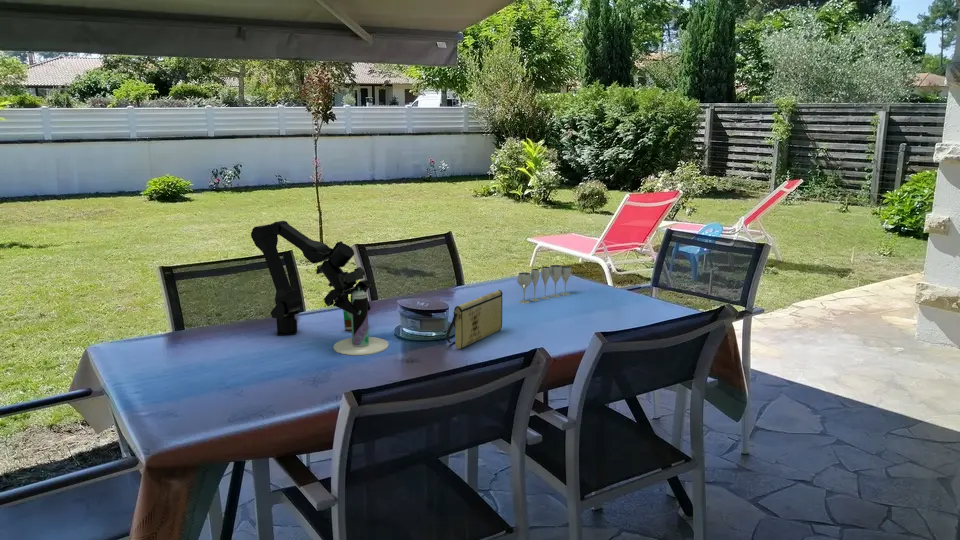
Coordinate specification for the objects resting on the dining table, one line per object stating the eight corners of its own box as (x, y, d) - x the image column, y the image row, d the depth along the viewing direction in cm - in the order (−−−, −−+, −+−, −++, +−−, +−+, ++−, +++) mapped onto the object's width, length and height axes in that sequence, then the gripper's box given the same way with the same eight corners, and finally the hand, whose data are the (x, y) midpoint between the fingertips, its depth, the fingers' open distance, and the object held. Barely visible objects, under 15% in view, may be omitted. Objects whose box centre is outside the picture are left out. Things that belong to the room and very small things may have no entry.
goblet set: (564, 292, 317) (565, 262, 314) (573, 294, 313) (574, 264, 310) (514, 301, 301) (514, 270, 298) (523, 304, 296) (523, 272, 294)
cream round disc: (335, 357, 232) (335, 355, 232) (332, 340, 249) (331, 339, 249) (391, 352, 237) (391, 351, 237) (384, 336, 254) (384, 335, 254)
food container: (359, 333, 258) (358, 306, 256) (343, 332, 259) (342, 305, 257) (371, 324, 270) (370, 297, 267) (356, 323, 271) (355, 296, 269)
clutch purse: (488, 327, 265) (488, 287, 262) (505, 330, 262) (505, 289, 259) (440, 348, 241) (439, 304, 238) (458, 352, 237) (457, 307, 234)
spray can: (359, 348, 239) (357, 289, 235) (348, 345, 243) (346, 286, 239) (372, 344, 243) (370, 286, 239) (361, 341, 247) (359, 283, 243)
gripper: (329, 265, 231) (358, 303, 228) (366, 255, 247) (393, 291, 244) (311, 287, 236) (339, 324, 233) (348, 276, 252) (375, 311, 249)
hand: (363, 312), depth 240 cm, fingers open, 7 cm apart
